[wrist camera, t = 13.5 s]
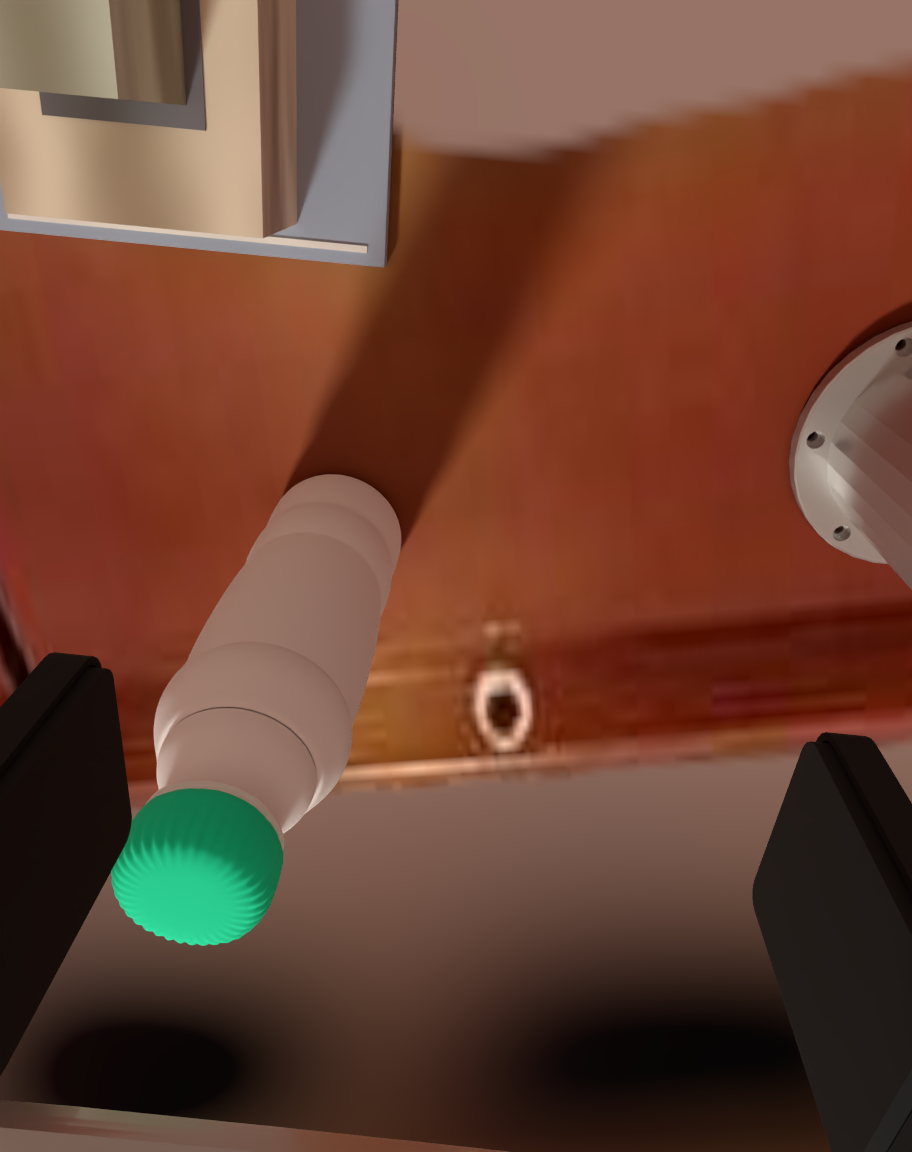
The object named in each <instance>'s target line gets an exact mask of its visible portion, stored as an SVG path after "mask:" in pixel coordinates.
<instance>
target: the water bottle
mask: <svg viewBox="0 0 912 1152" xmlns="http://www.w3.org/2000/svg"><path fill="white" fill-rule="evenodd" d="M400 549H401V530H400V525H399V521H398V518H397V516H396V514H395V512H394V510H393V508H392V507H391V505H390V504H389V502H388V501H387V500H386V499H385V498H384V496H383V495H382V494H381V493H380V492H378V491H377V490H376V489H374V488H373V487H372V486H370V485H368V484H367V483H365V482H363V481H361V480H358V479H356V478H353V477H349V476H345V475H338V474H325V475H319V476H314V477H311V478H308V479H306V480H303V481H301V482H300V483H298V484H296V485H295V486H293V487H292V488H291V489H290V490H289V491H288V492H287V493H286V494H285V495H284V496H283V497H282V498H281V500H280V501H279V503H278V504H277V506H276V508H275V509H274V511H273V513H272V515H271V517H270V519H269V521H268V524H267V526H266V528H265V529H264V530H263V531H262V532H261V534H260V535H259V537H258V538H257V540H256V541H255V543H254V545H253V547H252V549H251V551H250V553H249V555H248V558H247V561H246V564H245V565H244V566H243V567H242V569H241V570H240V571H239V573H238V574H237V575H236V577H235V578H234V579H233V581H232V582H231V584H230V585H229V587H228V588H227V590H226V591H225V593H224V594H223V596H222V597H221V599H220V601H219V602H218V604H217V605H216V607H215V609H214V610H213V612H212V614H211V615H210V617H209V619H208V620H207V622H206V624H205V626H204V628H203V629H202V631H201V633H200V635H199V637H198V639H197V641H196V643H195V645H194V647H193V649H192V651H191V653H190V655H189V657H188V660H187V662H186V664H185V665H184V666H183V667H182V668H181V669H180V670H179V671H178V672H177V673H176V674H175V675H174V677H173V678H172V679H171V681H170V682H169V683H168V685H167V687H166V688H165V690H164V692H163V694H162V696H161V698H160V701H159V704H158V707H157V710H156V715H155V721H154V744H155V751H156V758H157V783H158V787H159V790H158V791H157V792H156V793H155V794H154V795H153V796H152V797H151V798H150V799H149V800H148V801H147V803H146V804H145V806H144V807H143V808H142V809H141V810H140V811H139V812H138V813H137V815H136V816H135V817H134V819H133V820H132V822H131V829H130V834H129V837H128V840H127V842H126V844H125V846H124V848H123V850H122V852H121V854H120V856H119V858H118V859H117V861H116V863H115V865H114V867H113V869H112V871H111V875H112V886H113V888H114V893H115V897H116V898H117V899H118V900H119V904H120V906H121V907H122V908H123V909H125V913H126V915H127V916H129V917H131V918H133V920H134V922H135V923H136V924H137V925H142V926H143V928H144V929H145V930H146V931H153V932H154V934H155V935H156V936H164V937H165V938H166V940H173V939H174V940H175V941H177V942H178V943H183V942H186V943H188V944H189V945H194V944H199V945H202V946H205V945H207V944H212V945H217V944H219V943H228V942H230V941H232V940H234V939H239V938H240V937H242V936H243V935H244V934H245V933H248V932H249V931H250V930H252V928H253V927H254V926H255V925H257V924H258V923H259V922H260V920H261V919H262V917H263V916H264V914H265V913H266V912H267V910H268V908H269V906H270V903H271V901H272V899H273V896H274V893H275V891H276V888H277V885H278V881H279V878H280V874H281V869H282V864H283V850H284V844H285V842H284V837H283V833H285V832H286V831H288V830H289V829H290V828H292V827H293V826H294V825H295V824H296V823H297V822H298V821H299V820H300V819H301V818H302V816H303V815H304V814H305V813H307V812H308V811H309V810H310V809H312V808H313V807H314V806H315V805H317V804H318V803H319V802H320V801H321V800H322V799H323V798H324V797H325V796H326V795H327V794H328V793H329V792H330V791H331V790H332V789H333V787H334V786H335V785H336V783H337V782H338V780H339V779H340V777H341V775H342V773H343V771H344V769H345V767H346V764H347V761H348V758H349V754H350V750H351V744H352V726H353V723H354V720H355V718H356V715H357V713H358V710H359V707H360V704H361V701H362V697H363V694H364V691H365V687H366V684H367V680H368V676H369V672H370V669H371V664H372V660H373V656H374V652H375V647H376V642H377V637H378V630H379V623H380V617H381V615H382V613H383V611H384V608H385V606H386V603H387V600H388V596H389V592H390V587H391V578H392V575H393V573H394V571H395V568H396V565H397V562H398V558H399V554H400Z"/></svg>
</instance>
